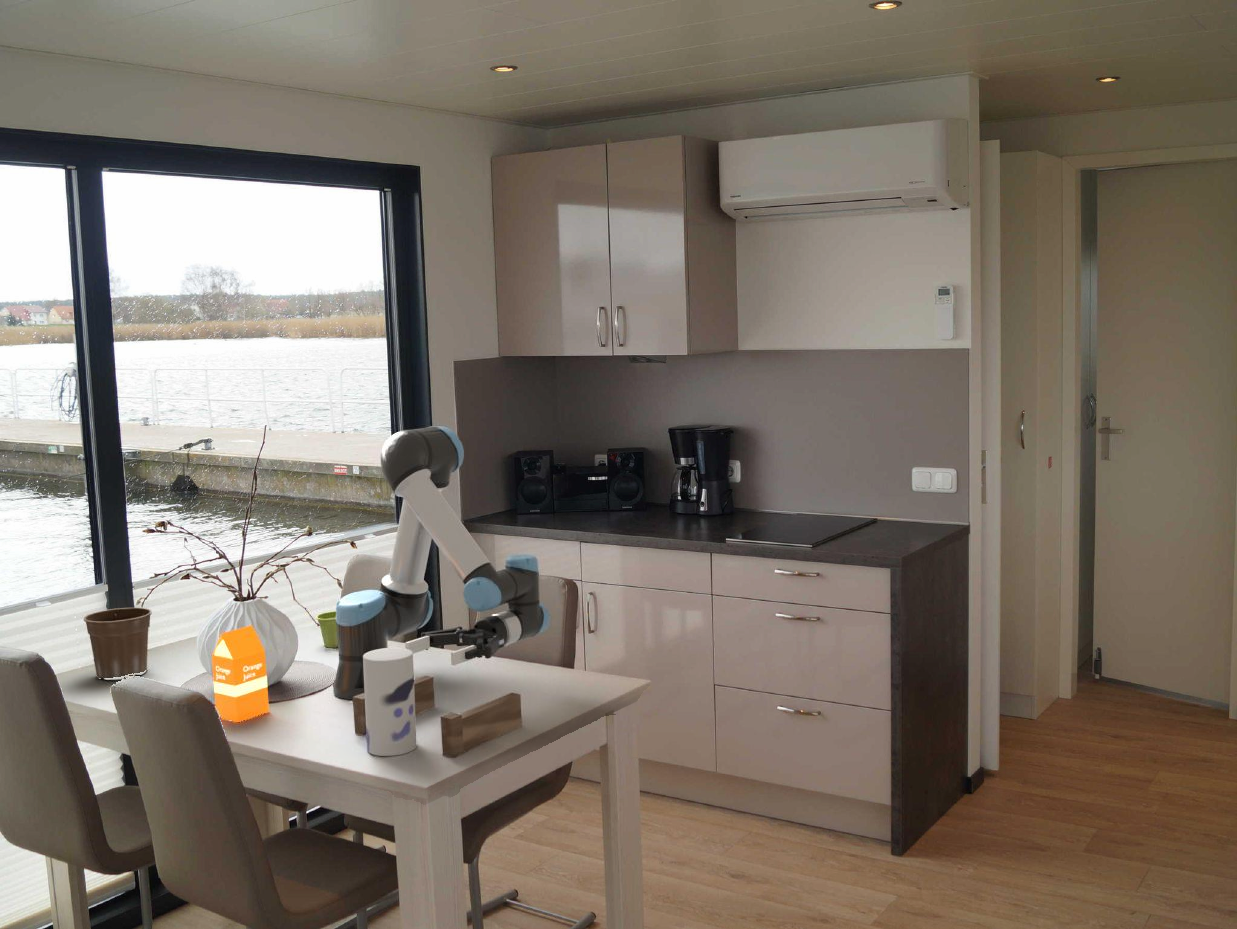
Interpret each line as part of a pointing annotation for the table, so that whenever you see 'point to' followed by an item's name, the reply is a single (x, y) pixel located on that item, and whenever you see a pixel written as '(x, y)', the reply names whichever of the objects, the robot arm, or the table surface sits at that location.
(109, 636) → the plant pot
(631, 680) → the table surface
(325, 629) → the plant pot
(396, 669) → the container
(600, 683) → the table surface
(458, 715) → the channel
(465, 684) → the table surface
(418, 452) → the robot arm
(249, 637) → the orange juice
